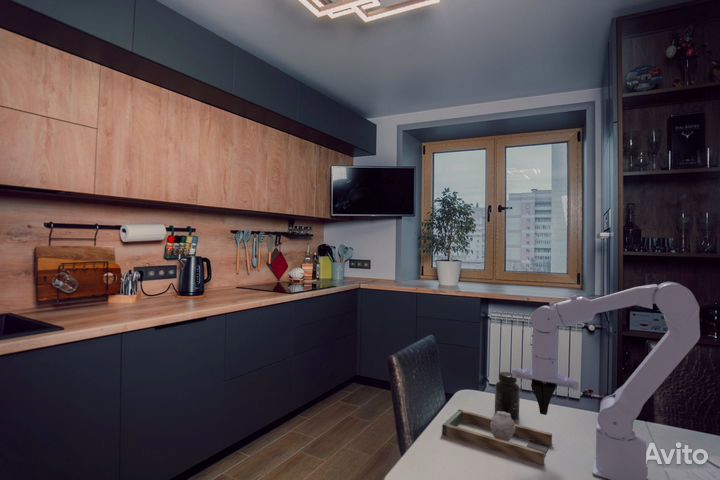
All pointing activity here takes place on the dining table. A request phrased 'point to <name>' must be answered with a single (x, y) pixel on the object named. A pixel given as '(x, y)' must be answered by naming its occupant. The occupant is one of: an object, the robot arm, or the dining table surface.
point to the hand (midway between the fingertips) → (543, 413)
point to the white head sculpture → (502, 426)
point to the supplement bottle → (507, 395)
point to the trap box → (530, 453)
